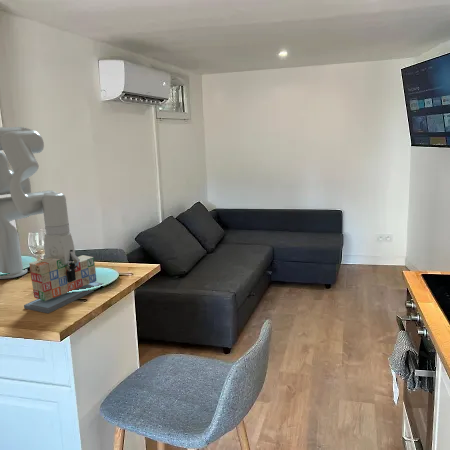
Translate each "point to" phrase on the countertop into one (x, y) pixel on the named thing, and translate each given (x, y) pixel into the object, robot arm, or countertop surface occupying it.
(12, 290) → the countertop surface
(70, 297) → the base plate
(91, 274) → the stack of blocks
